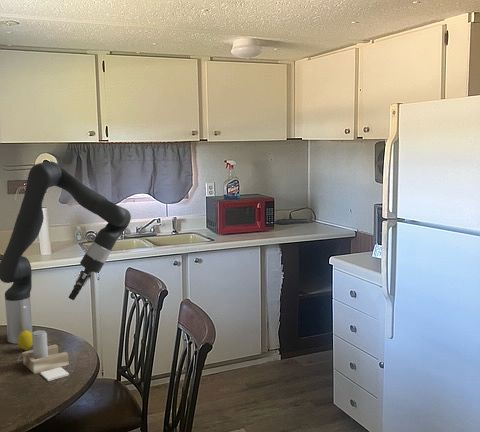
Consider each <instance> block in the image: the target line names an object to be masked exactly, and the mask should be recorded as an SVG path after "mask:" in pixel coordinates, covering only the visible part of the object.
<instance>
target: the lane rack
mask: <svg viewBox="0 0 480 432" xmlns="http://www.w3.org/2000/svg"><path fill="white" fill-rule="evenodd" d="M47 346H48V356H47V357H43V358H39V359H34V357H33V349H30V350H25V351H24V352H23V351H22V354H21V355H22V363H23V365H24V366H25V367H27V369H28V370H29V371H31V372H32V373H33V374H34V375H36V374H39V373H40V374H41V372H44V371H48V370H52V369H55V368H59V367H61V368H63V367H65V366H68V365H70V363H69V362H70V361H69V359H70V358H69V357H70V356H69V353H68V352H67V351H63V352H59V346H58V345H57V344H52V345H47Z"/></svg>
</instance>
